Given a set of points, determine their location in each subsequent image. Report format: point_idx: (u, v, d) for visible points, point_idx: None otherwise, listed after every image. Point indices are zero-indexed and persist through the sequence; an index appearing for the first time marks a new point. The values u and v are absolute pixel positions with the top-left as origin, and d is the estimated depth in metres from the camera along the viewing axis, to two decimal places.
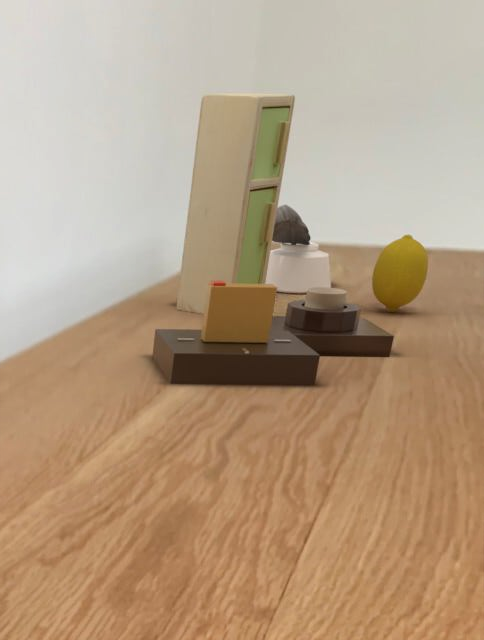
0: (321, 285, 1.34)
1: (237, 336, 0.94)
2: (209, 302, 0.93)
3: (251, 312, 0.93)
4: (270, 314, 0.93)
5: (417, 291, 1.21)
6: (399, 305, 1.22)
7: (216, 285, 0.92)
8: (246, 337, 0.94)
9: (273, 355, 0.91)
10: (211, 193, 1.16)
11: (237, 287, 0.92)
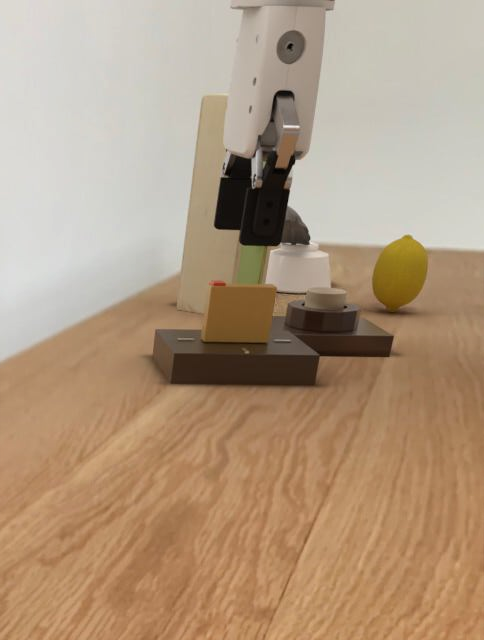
0: (321, 285, 1.34)
1: (237, 336, 0.94)
2: (209, 302, 0.93)
3: (251, 312, 0.93)
4: (270, 314, 0.93)
5: (417, 291, 1.21)
6: (399, 305, 1.22)
7: (216, 285, 0.92)
8: (246, 337, 0.94)
9: (273, 355, 0.91)
10: (211, 193, 1.16)
11: (237, 287, 0.92)
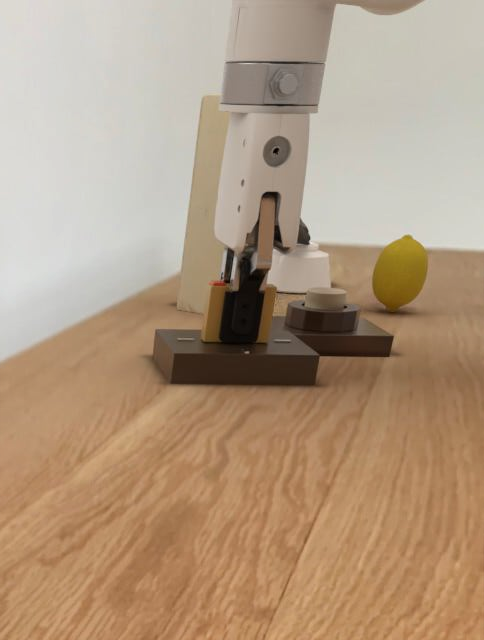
0: (321, 285, 1.34)
1: None
2: (209, 302, 0.93)
3: None
4: (270, 314, 0.93)
5: (417, 291, 1.21)
6: (399, 305, 1.22)
7: (216, 285, 0.92)
8: None
9: (273, 355, 0.91)
10: (211, 193, 1.16)
11: None
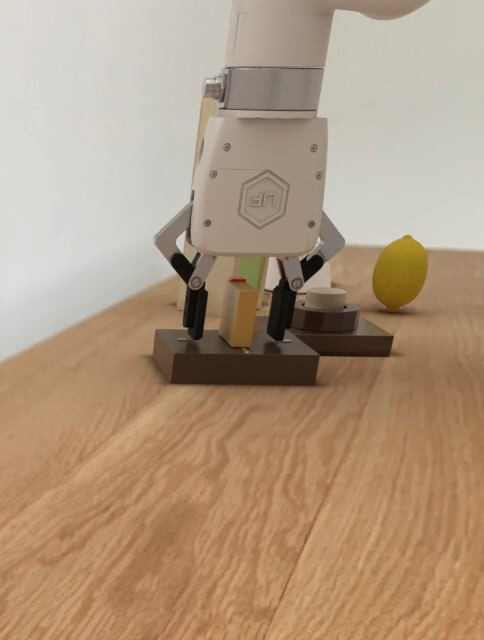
0: (321, 285, 1.34)
1: (225, 334, 0.95)
2: (224, 295, 0.96)
3: (231, 312, 0.93)
4: (235, 317, 0.92)
5: (417, 291, 1.21)
6: (399, 305, 1.22)
7: (228, 279, 0.95)
8: (227, 337, 0.94)
9: (273, 355, 0.91)
10: None
11: (231, 284, 0.93)
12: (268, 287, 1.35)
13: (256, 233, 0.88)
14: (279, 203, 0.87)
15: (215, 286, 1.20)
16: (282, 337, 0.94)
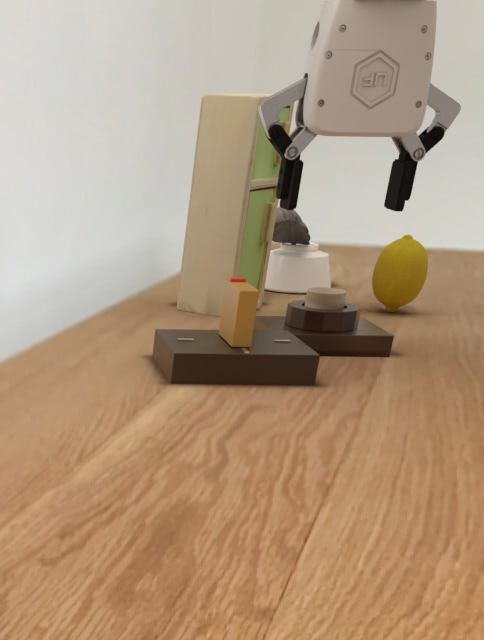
0: (321, 285, 1.34)
1: (225, 334, 0.95)
2: (224, 295, 0.96)
3: (231, 312, 0.93)
4: (235, 317, 0.92)
5: (417, 291, 1.21)
6: (399, 305, 1.22)
7: (228, 279, 0.95)
8: (227, 337, 0.94)
9: (273, 355, 0.91)
10: (211, 193, 1.16)
11: (231, 284, 0.93)
12: (268, 287, 1.35)
13: (366, 113, 0.94)
14: (389, 83, 0.93)
15: (215, 286, 1.20)
16: (402, 207, 0.99)
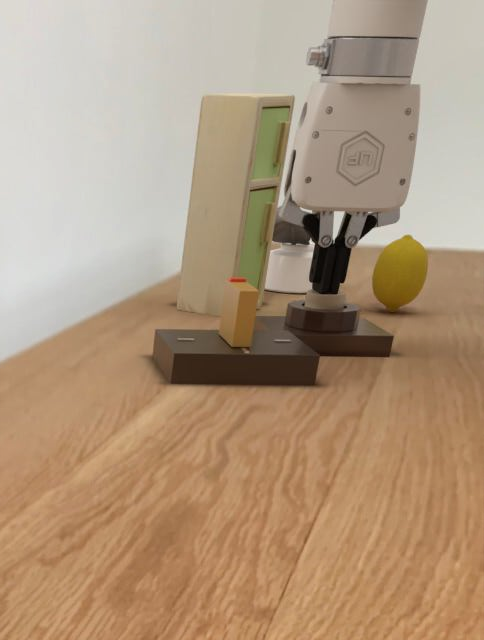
0: None
1: (225, 334, 0.95)
2: (224, 295, 0.96)
3: (231, 312, 0.93)
4: (235, 317, 0.92)
5: (417, 291, 1.21)
6: (399, 305, 1.22)
7: (228, 279, 0.95)
8: (227, 337, 0.94)
9: (273, 355, 0.91)
10: (211, 193, 1.16)
11: (231, 284, 0.93)
12: (268, 287, 1.35)
13: (352, 189, 0.97)
14: (374, 162, 0.96)
15: (215, 286, 1.20)
16: (337, 290, 1.03)
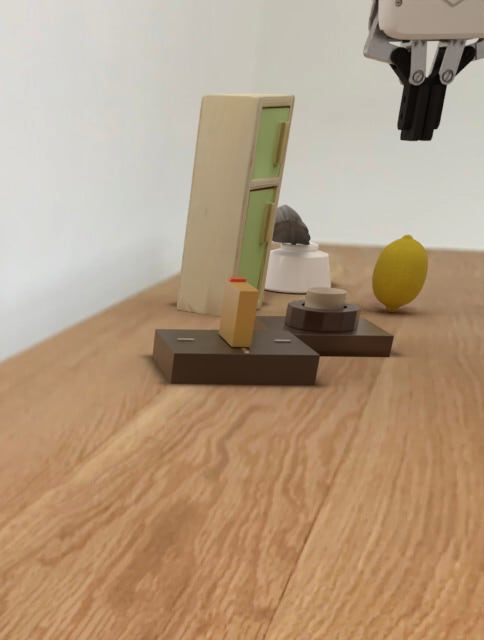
0: (321, 285, 1.34)
1: (225, 334, 0.95)
2: (224, 295, 0.96)
3: (231, 312, 0.93)
4: (235, 317, 0.92)
5: (417, 291, 1.21)
6: (399, 305, 1.22)
7: (228, 279, 0.95)
8: (227, 337, 0.94)
9: (273, 355, 0.91)
10: (211, 193, 1.16)
11: (231, 284, 0.93)
12: (268, 287, 1.35)
13: (449, 11, 0.86)
14: None
15: (215, 286, 1.20)
16: (431, 135, 0.91)
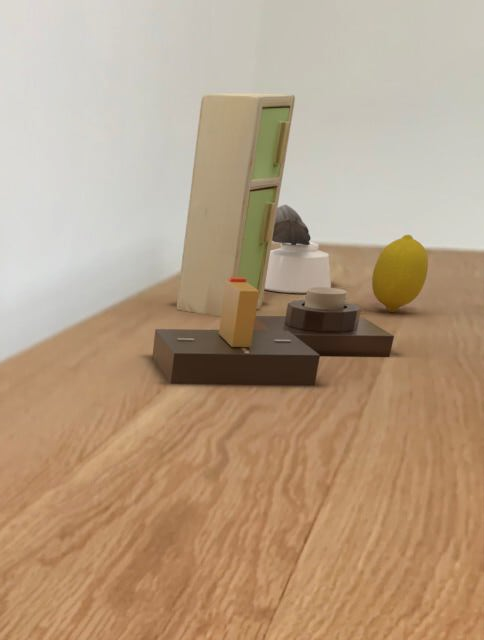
0: (321, 285, 1.34)
1: (225, 334, 0.95)
2: (224, 295, 0.96)
3: (231, 312, 0.93)
4: (235, 317, 0.92)
5: (417, 291, 1.21)
6: (399, 305, 1.22)
7: (228, 279, 0.95)
8: (227, 337, 0.94)
9: (273, 355, 0.91)
10: (211, 193, 1.16)
11: (231, 284, 0.93)
12: (268, 287, 1.35)
13: None
14: None
15: (215, 286, 1.20)
16: None
